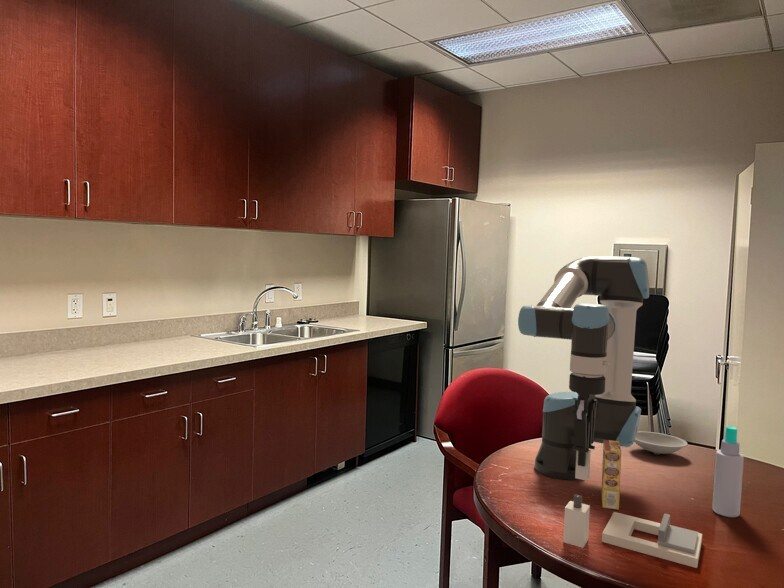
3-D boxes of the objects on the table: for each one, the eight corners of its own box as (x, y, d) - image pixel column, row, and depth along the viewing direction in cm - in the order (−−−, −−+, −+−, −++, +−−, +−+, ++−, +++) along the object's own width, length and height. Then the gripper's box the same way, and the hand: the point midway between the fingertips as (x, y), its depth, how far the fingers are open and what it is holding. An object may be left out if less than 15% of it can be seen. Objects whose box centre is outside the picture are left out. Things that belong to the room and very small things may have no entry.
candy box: (619, 510, 145) (622, 451, 144) (601, 508, 146) (604, 449, 145) (616, 496, 153) (619, 440, 152) (600, 494, 154) (603, 438, 153)
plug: (563, 542, 128) (565, 497, 127) (568, 534, 132) (570, 490, 131) (583, 548, 126) (585, 502, 125) (588, 539, 129) (590, 495, 129)
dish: (624, 454, 187) (624, 439, 186) (632, 442, 199) (632, 428, 199) (684, 466, 177) (685, 450, 177) (688, 453, 190) (689, 438, 189)
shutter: (657, 544, 124) (658, 529, 124) (663, 526, 132) (664, 513, 132) (694, 553, 120) (695, 539, 120) (697, 535, 128) (698, 521, 128)
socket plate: (601, 541, 128) (602, 533, 128) (613, 519, 139) (614, 511, 139) (697, 568, 118) (697, 558, 118) (701, 542, 129) (702, 533, 129)
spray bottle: (711, 513, 144) (716, 428, 143) (713, 505, 149) (718, 422, 148) (738, 520, 141) (745, 433, 139) (740, 511, 146) (746, 427, 144)
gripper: (598, 381, 118) (593, 492, 120) (611, 371, 130) (605, 472, 131) (562, 376, 122) (557, 484, 124) (577, 367, 133) (572, 465, 135)
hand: (582, 478), depth 127 cm, fingers closed
